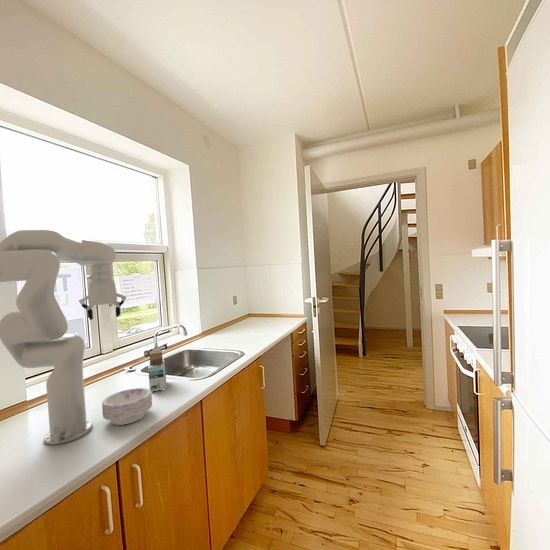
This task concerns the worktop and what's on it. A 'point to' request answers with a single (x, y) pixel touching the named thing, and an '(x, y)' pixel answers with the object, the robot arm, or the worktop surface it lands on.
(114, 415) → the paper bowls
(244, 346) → the worktop surface
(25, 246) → the robot arm
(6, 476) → the worktop surface
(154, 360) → the walnut cube
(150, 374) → the light bulb box
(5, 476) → the worktop surface
